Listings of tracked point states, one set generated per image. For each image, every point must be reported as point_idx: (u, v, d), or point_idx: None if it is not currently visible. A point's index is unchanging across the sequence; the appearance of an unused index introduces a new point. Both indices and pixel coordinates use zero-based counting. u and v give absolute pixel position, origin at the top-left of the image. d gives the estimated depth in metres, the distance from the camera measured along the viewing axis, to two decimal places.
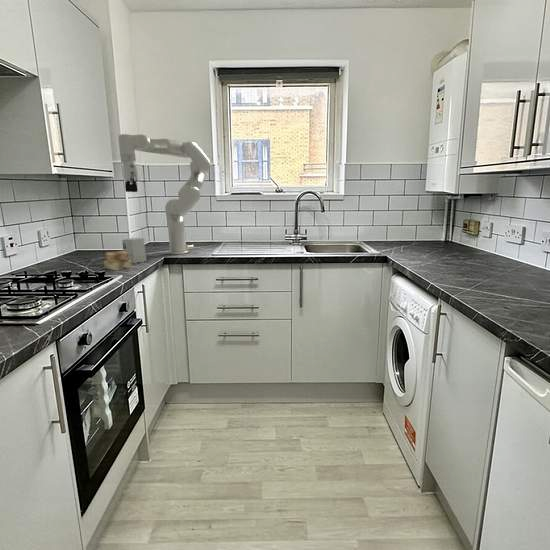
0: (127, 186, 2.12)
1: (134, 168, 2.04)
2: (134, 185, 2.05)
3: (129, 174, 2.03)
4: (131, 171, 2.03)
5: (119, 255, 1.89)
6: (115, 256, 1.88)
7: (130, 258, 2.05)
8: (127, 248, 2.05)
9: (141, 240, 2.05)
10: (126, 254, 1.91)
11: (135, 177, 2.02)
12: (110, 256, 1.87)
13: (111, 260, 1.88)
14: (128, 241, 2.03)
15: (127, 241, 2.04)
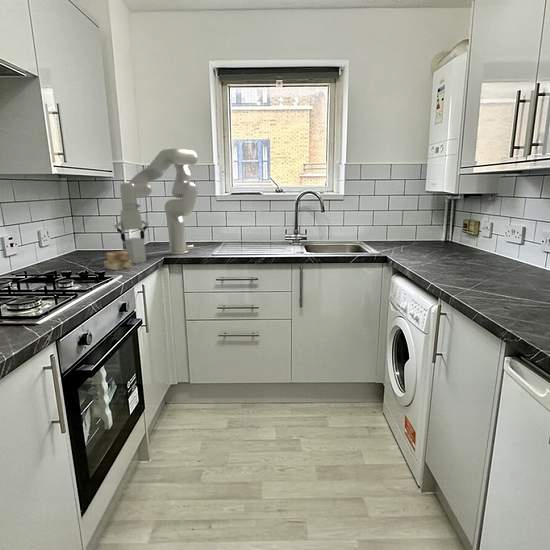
0: None
1: None
2: None
3: (141, 222, 2.04)
4: None
5: (119, 255, 1.89)
6: (115, 256, 1.88)
7: (130, 259, 2.05)
8: (127, 249, 2.05)
9: (141, 241, 2.05)
10: (126, 254, 1.91)
11: (147, 224, 2.08)
12: (110, 256, 1.87)
13: (111, 260, 1.88)
14: (128, 241, 2.03)
15: (127, 242, 2.04)
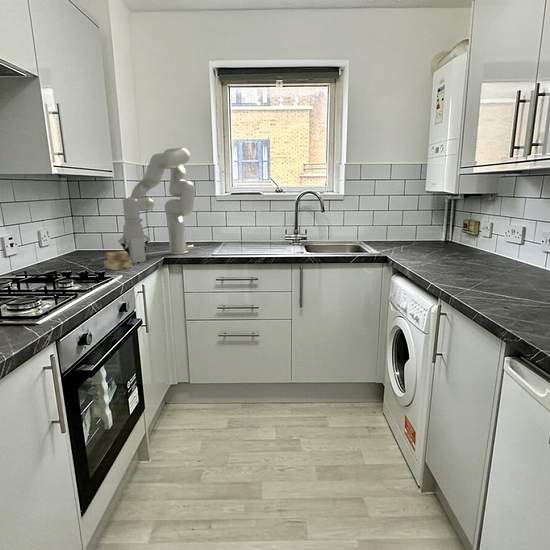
0: None
1: None
2: None
3: (144, 236, 2.07)
4: (143, 233, 2.07)
5: (119, 255, 1.89)
6: (115, 256, 1.88)
7: (129, 258, 2.05)
8: None
9: (141, 240, 2.05)
10: (126, 254, 1.91)
11: (149, 239, 2.10)
12: (110, 256, 1.87)
13: (111, 260, 1.88)
14: None
15: None
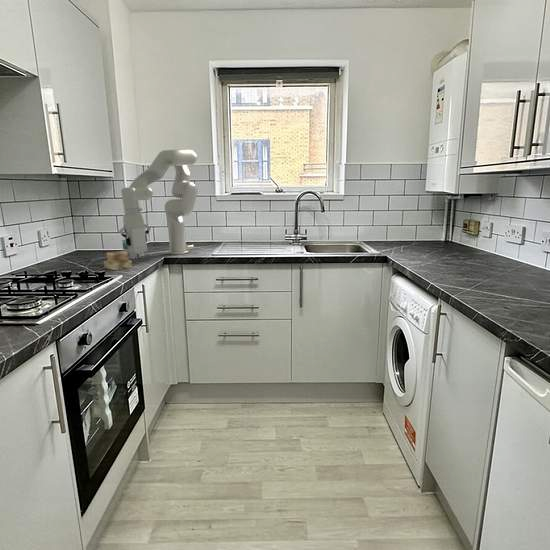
0: None
1: None
2: None
3: (144, 225, 2.06)
4: (143, 223, 2.07)
5: (119, 255, 1.89)
6: (115, 256, 1.88)
7: (131, 248, 2.05)
8: None
9: (141, 230, 2.04)
10: (126, 254, 1.91)
11: (149, 228, 2.10)
12: (110, 256, 1.87)
13: (111, 260, 1.88)
14: None
15: None
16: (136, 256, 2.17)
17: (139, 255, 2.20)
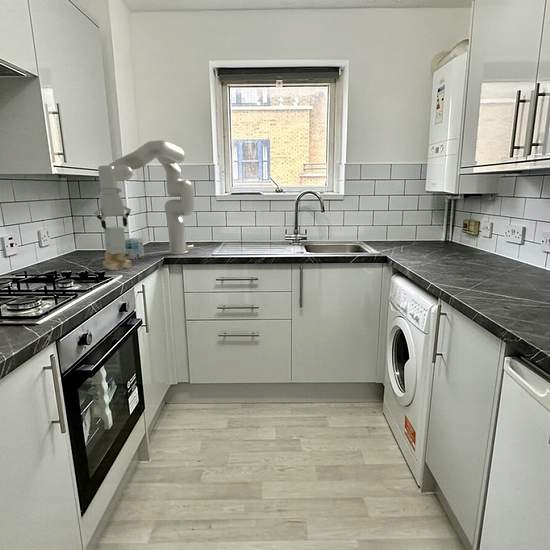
0: None
1: None
2: None
3: None
4: (122, 205, 1.90)
5: (116, 255, 1.88)
6: (112, 256, 1.88)
7: (108, 248, 1.89)
8: (105, 237, 1.89)
9: (121, 229, 1.88)
10: (123, 254, 1.90)
11: None
12: (107, 256, 1.87)
13: (108, 260, 1.87)
14: (106, 229, 1.87)
15: (106, 230, 1.88)
16: (136, 256, 2.17)
17: (139, 255, 2.20)
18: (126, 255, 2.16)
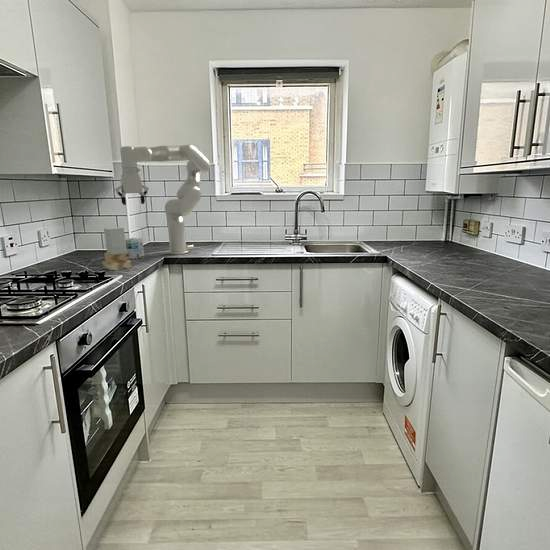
0: None
1: None
2: None
3: (141, 186, 2.06)
4: None
5: (117, 255, 1.89)
6: (113, 256, 1.88)
7: (109, 249, 1.89)
8: (106, 238, 1.90)
9: (121, 229, 1.89)
10: (124, 254, 1.91)
11: (147, 189, 2.10)
12: (108, 256, 1.87)
13: (109, 260, 1.87)
14: (106, 230, 1.88)
15: (106, 231, 1.88)
16: (136, 256, 2.17)
17: (139, 255, 2.20)
18: None
